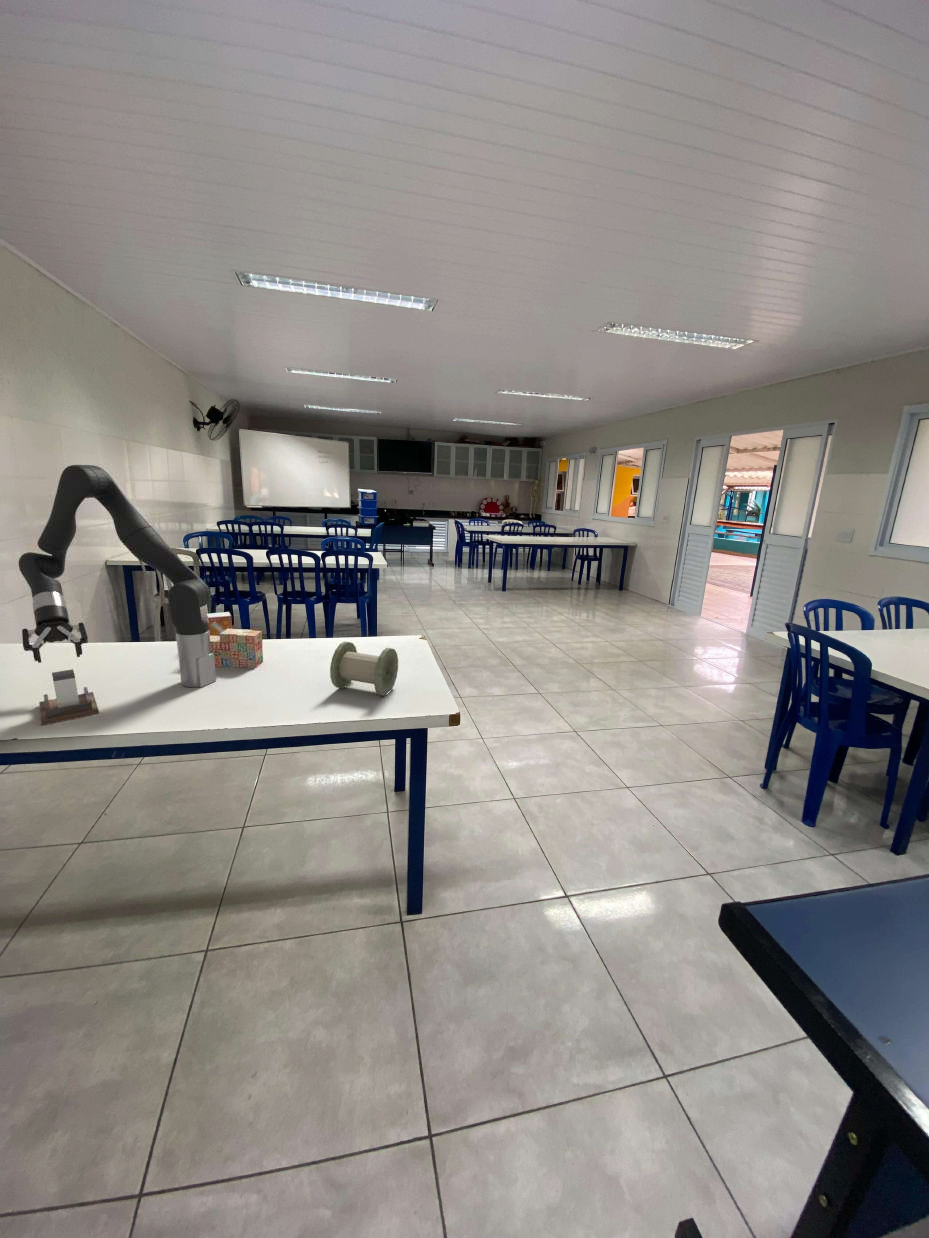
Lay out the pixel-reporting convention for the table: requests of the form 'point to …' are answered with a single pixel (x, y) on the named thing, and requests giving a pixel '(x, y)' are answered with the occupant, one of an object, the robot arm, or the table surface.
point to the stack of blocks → (237, 648)
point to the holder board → (67, 708)
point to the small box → (219, 623)
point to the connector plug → (65, 688)
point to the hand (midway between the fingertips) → (59, 658)
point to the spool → (364, 668)
